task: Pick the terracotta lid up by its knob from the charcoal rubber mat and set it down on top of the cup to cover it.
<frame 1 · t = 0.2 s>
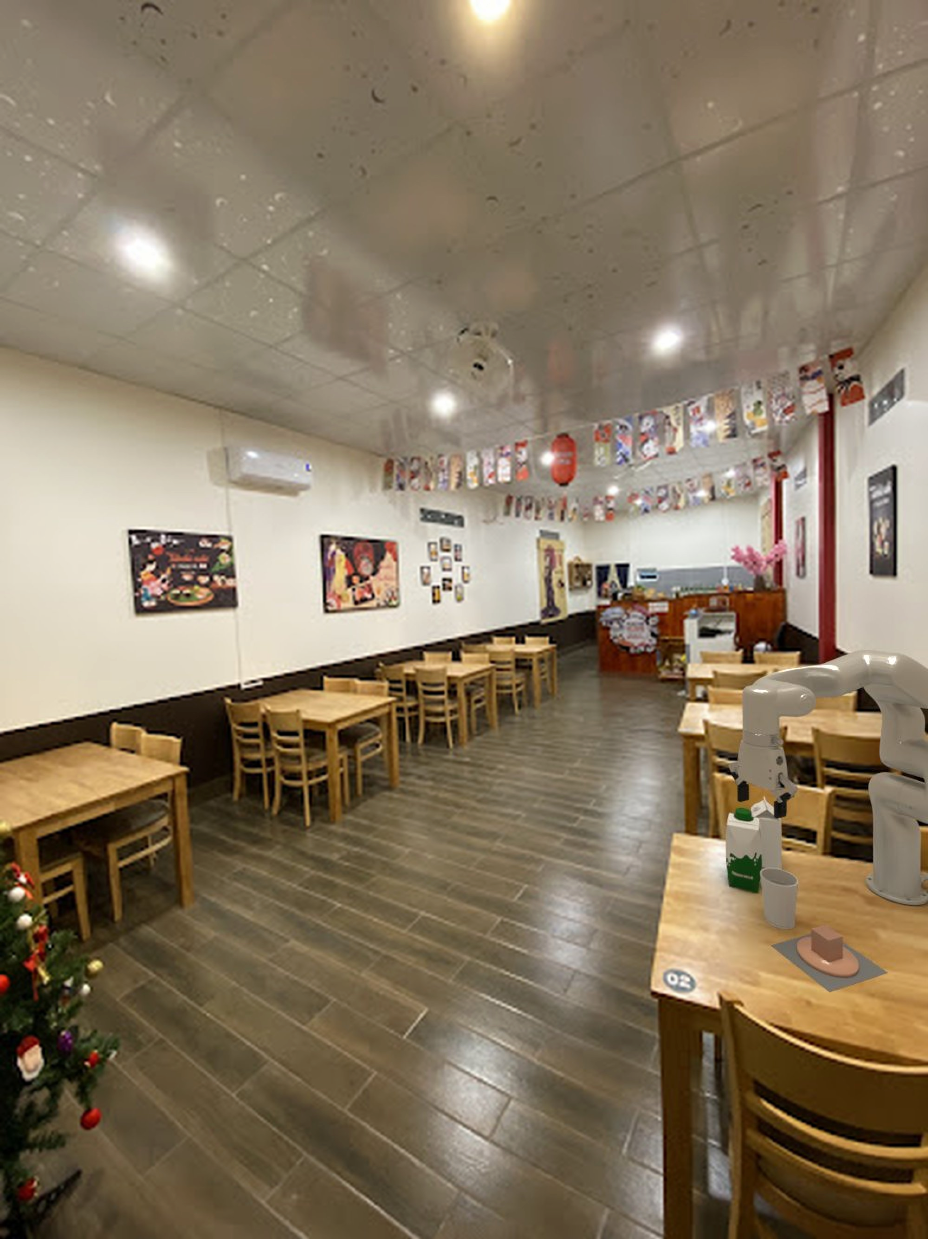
hand: (761, 808, 119), 30 cm above the table, tool pointing down, fingers open, 9 cm apart
mat: (826, 961, 110), on the table
milk carton: (766, 863, 149), on the table
lid: (826, 958, 110), point 1 cm above the table, touching mat
cup: (779, 924, 123), on the table
soya milk: (744, 884, 140), on the table
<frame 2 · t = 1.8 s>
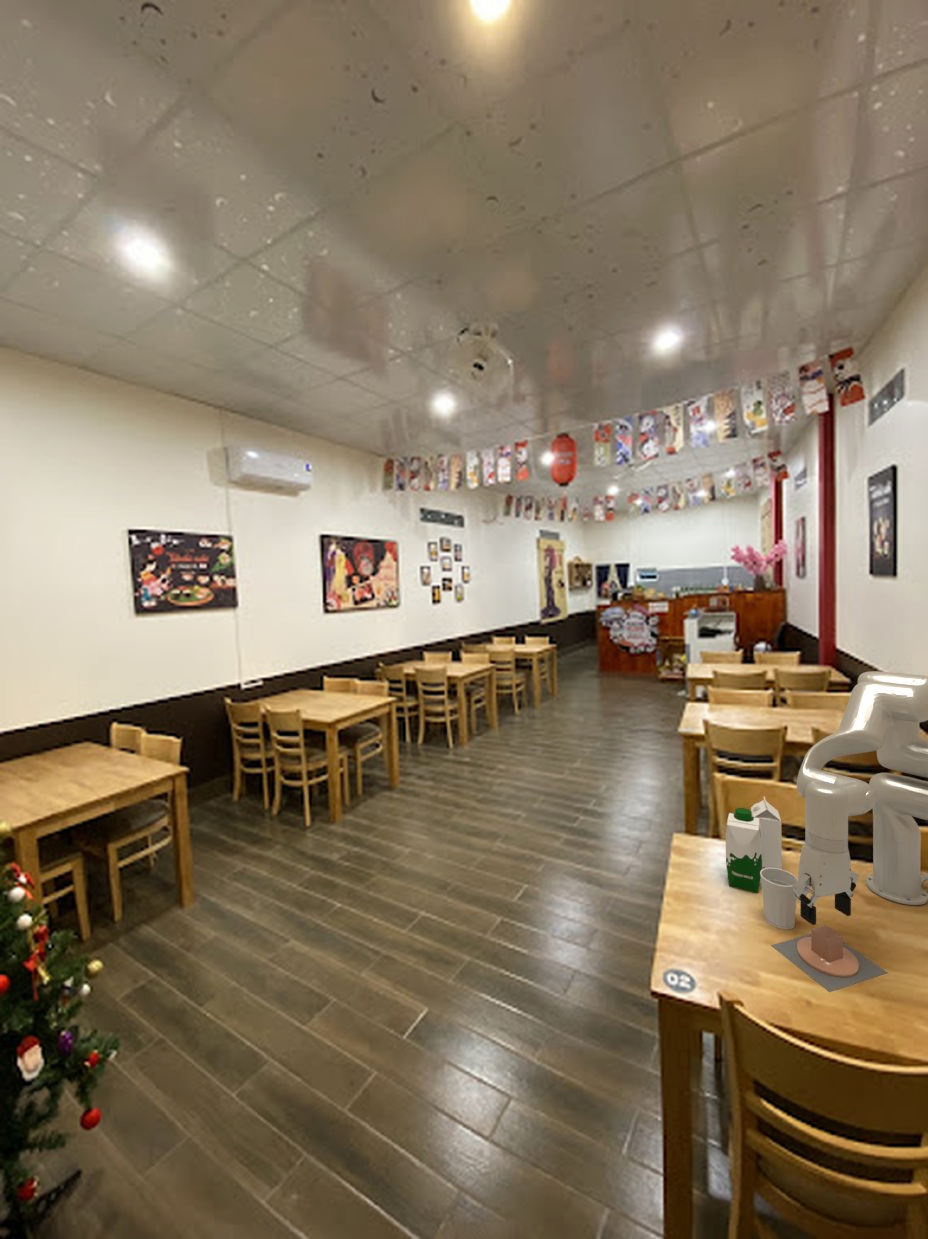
hand: (825, 916, 109), 11 cm above the table, tool pointing down, fingers open, 9 cm apart
nothing on the table moved.
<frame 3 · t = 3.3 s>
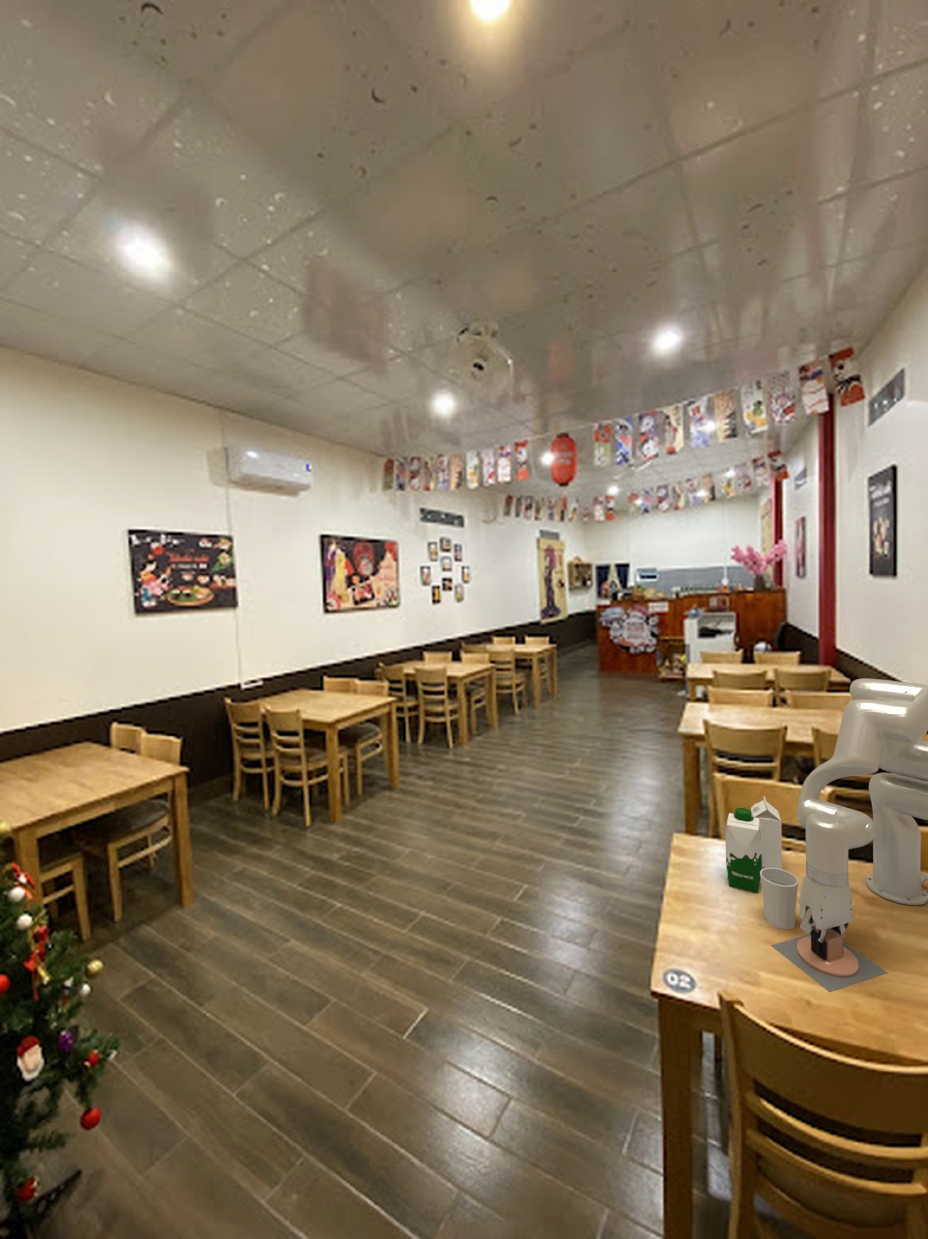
hand: (827, 952, 110), 2 cm above the table, tool pointing down, fingers closed on lid, 3 cm apart
lid: (826, 958, 110), point 1 cm above the table, touching gripper
everything else where it was.
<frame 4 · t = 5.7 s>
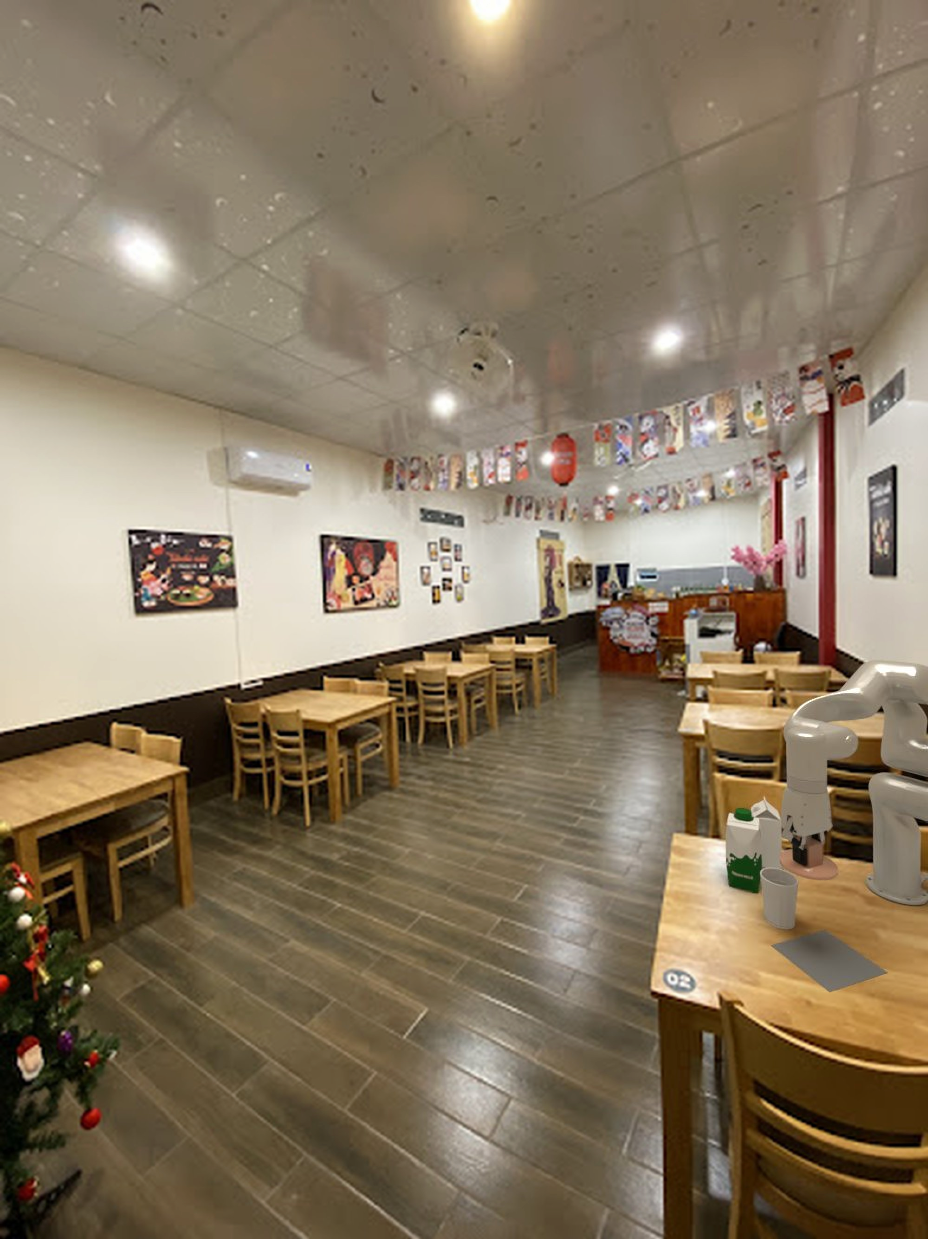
hand: (807, 860, 114), 21 cm above the table, tool pointing down, fingers closed on lid, 4 cm apart
lid: (807, 866, 114), point 19 cm above the table, touching gripper
everything else where it was.
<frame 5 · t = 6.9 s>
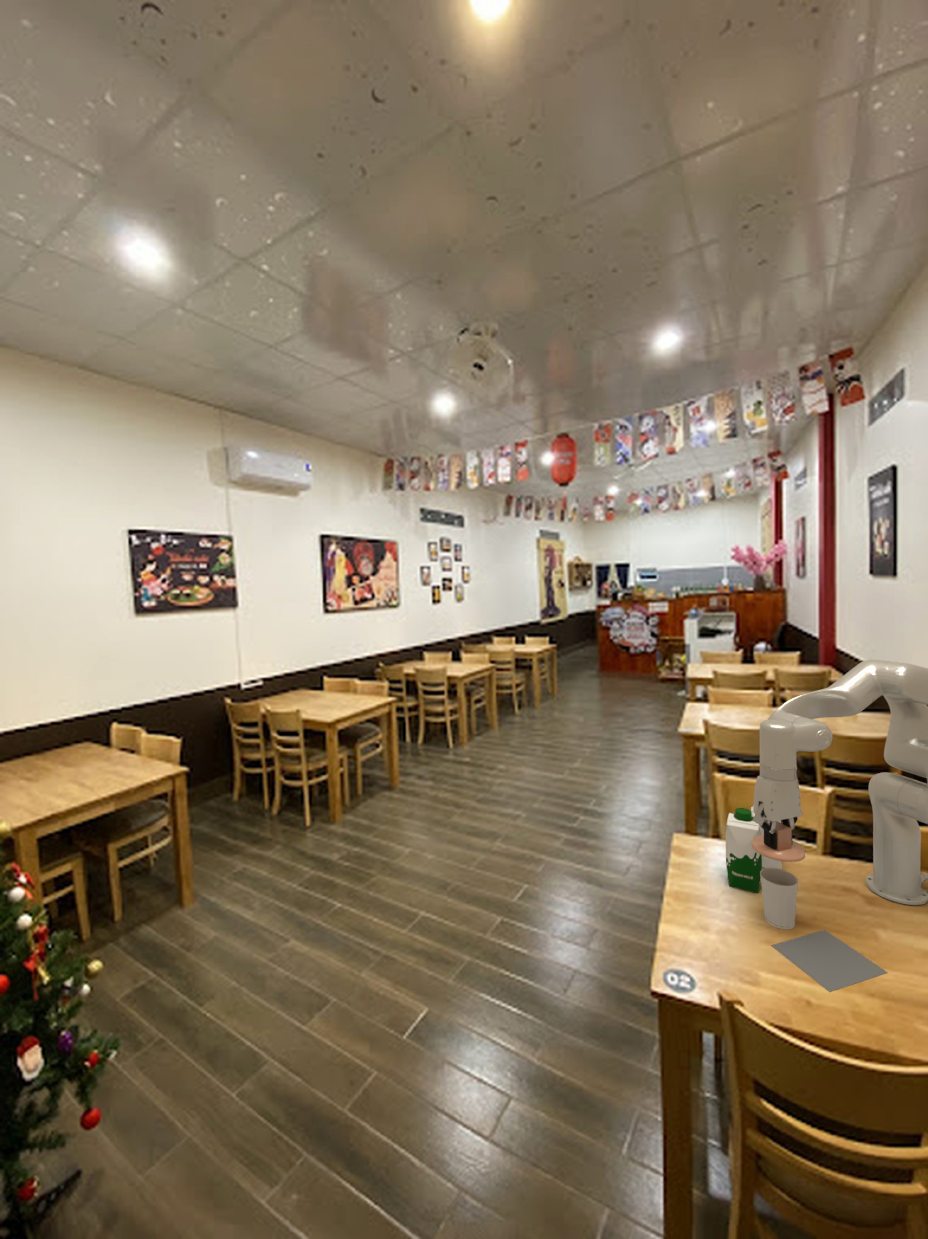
hand: (778, 844, 122), 20 cm above the table, tool pointing down, fingers closed on lid, 4 cm apart
lid: (777, 849, 122), point 19 cm above the table, touching gripper
everything else where it was.
when the fingers open (15 cm above the table, at t = 8.1 s): lid drops 1 cm, resting on cup.
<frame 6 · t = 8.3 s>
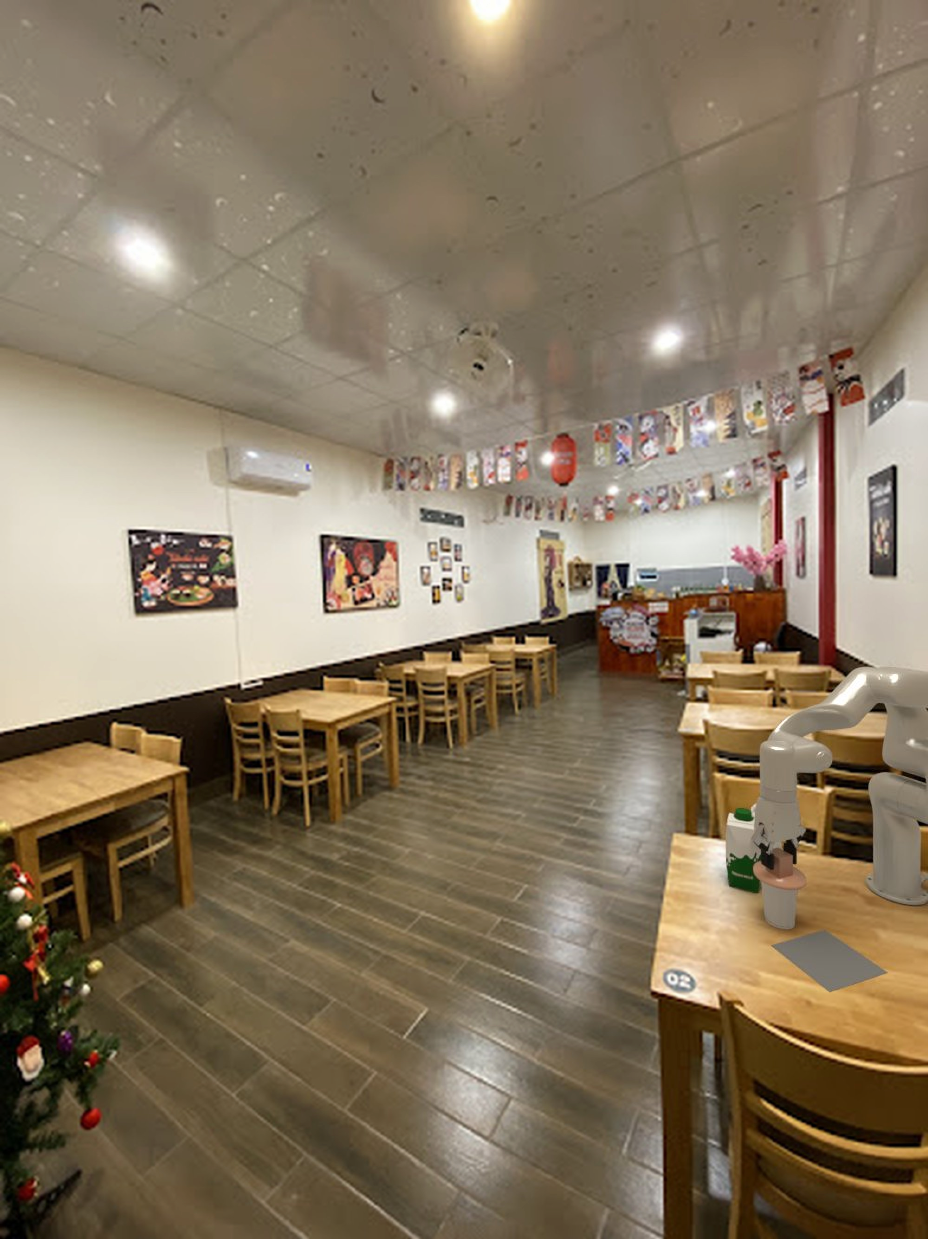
hand: (778, 863, 122), 15 cm above the table, tool pointing down, fingers open, 6 cm apart
lid: (779, 876, 122), point 12 cm above the table, touching cup
cup: (779, 924, 123), on the table, touching lid
everything else where it was.
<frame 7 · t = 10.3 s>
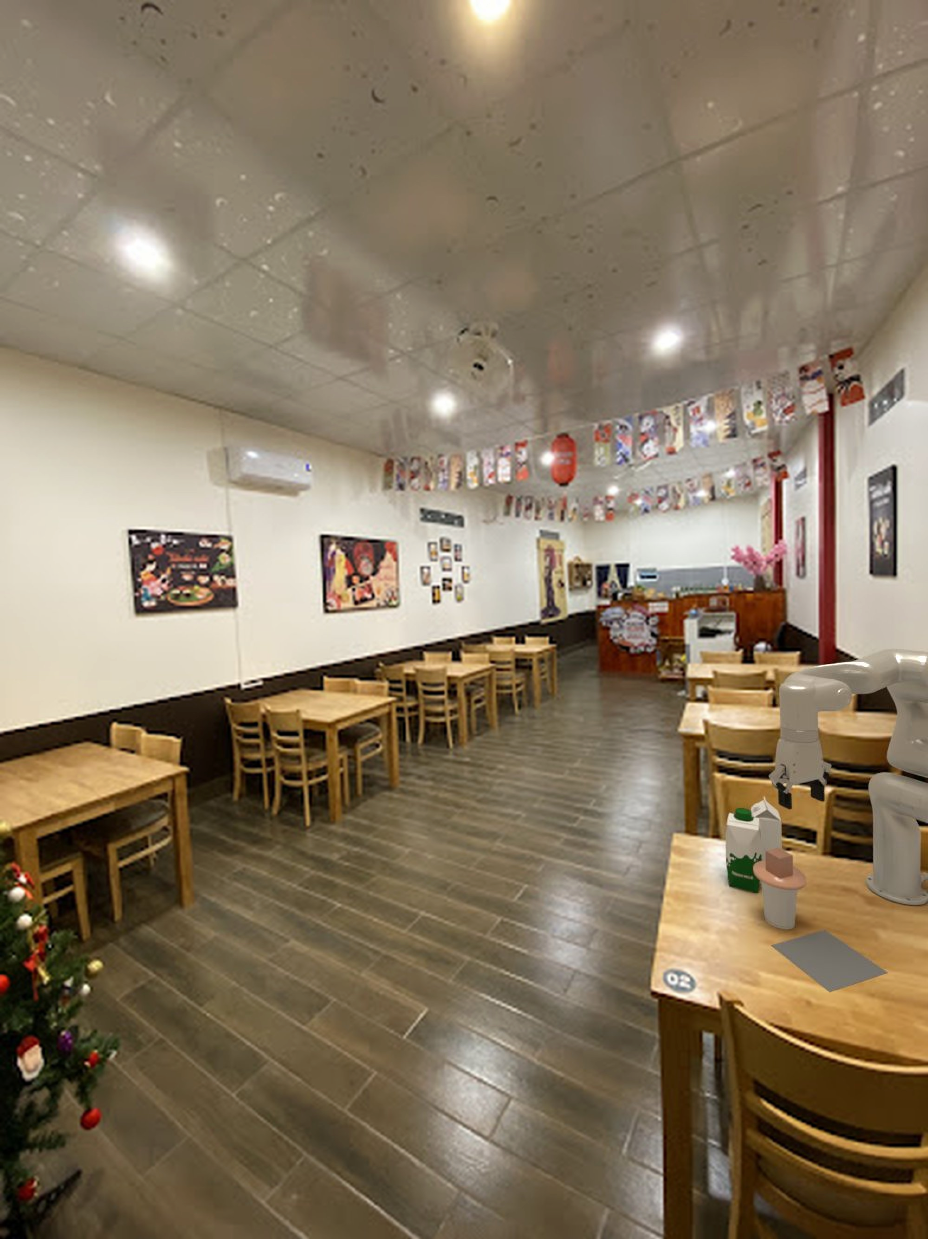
hand: (801, 803, 120), 31 cm above the table, tool pointing down, fingers open, 9 cm apart
nothing on the table moved.
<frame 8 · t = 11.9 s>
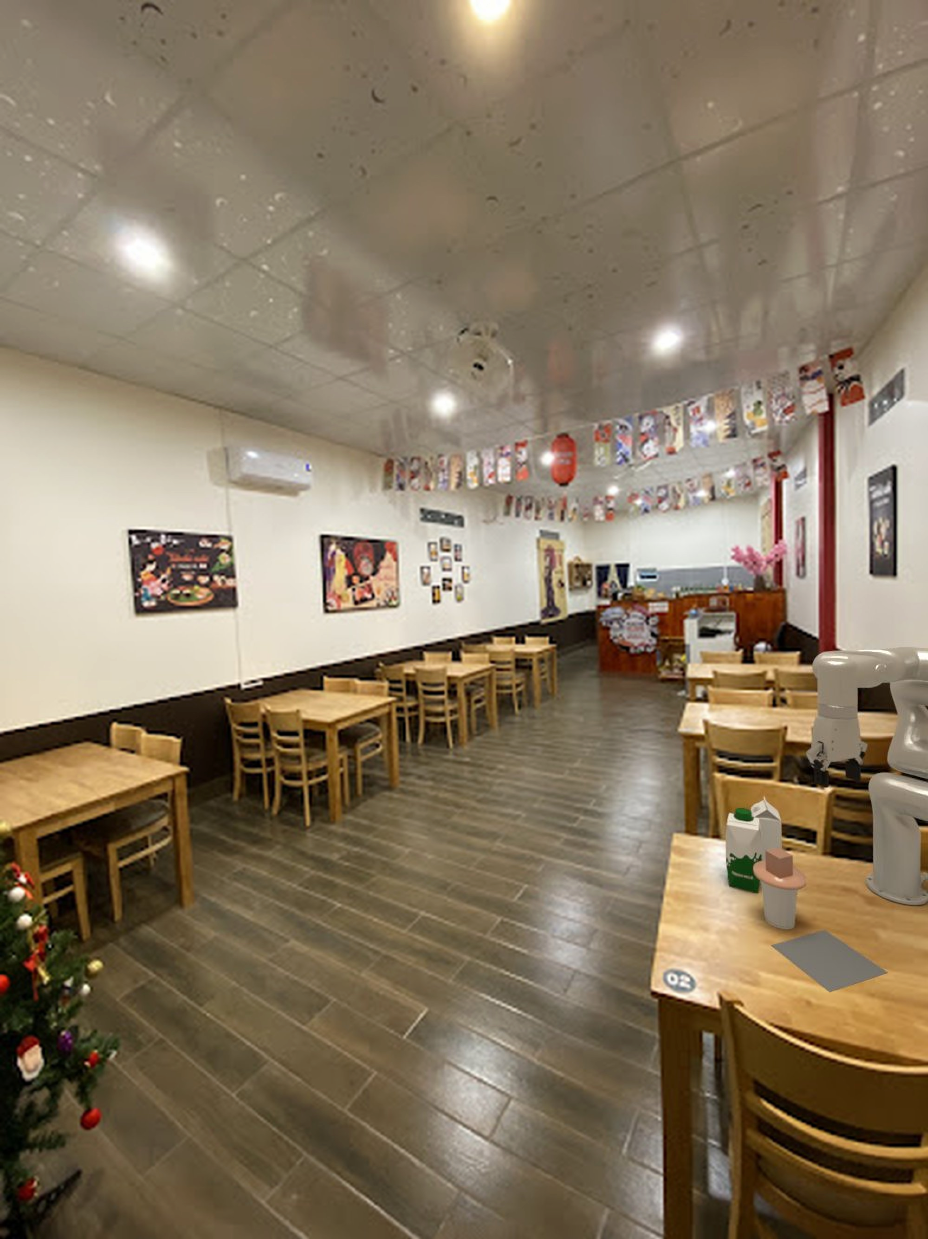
hand: (837, 782, 118), 36 cm above the table, tool pointing down, fingers open, 9 cm apart
nothing on the table moved.
at the end: lid 0.1 cm off-centre on the cup, point 12.2 cm above the cup's base; lid tilted 0°; the gripper is holding nothing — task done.
